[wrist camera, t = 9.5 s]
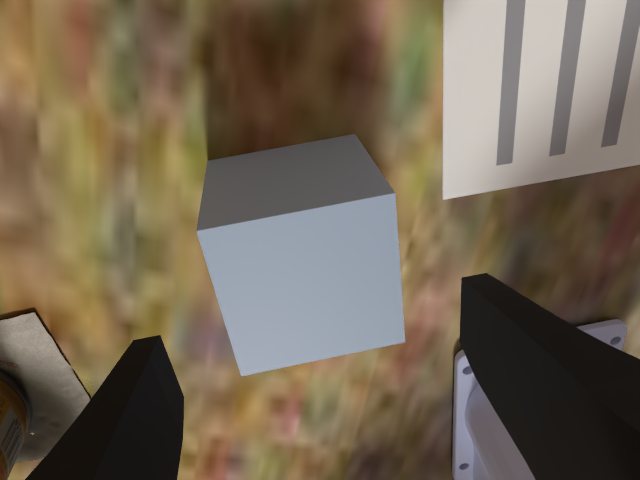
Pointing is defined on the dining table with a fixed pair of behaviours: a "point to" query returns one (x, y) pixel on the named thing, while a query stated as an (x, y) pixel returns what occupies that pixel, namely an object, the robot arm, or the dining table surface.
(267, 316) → the cube
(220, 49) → the dining table surface
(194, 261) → the dining table surface
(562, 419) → the robot arm
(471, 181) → the letter
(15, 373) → the condiment
